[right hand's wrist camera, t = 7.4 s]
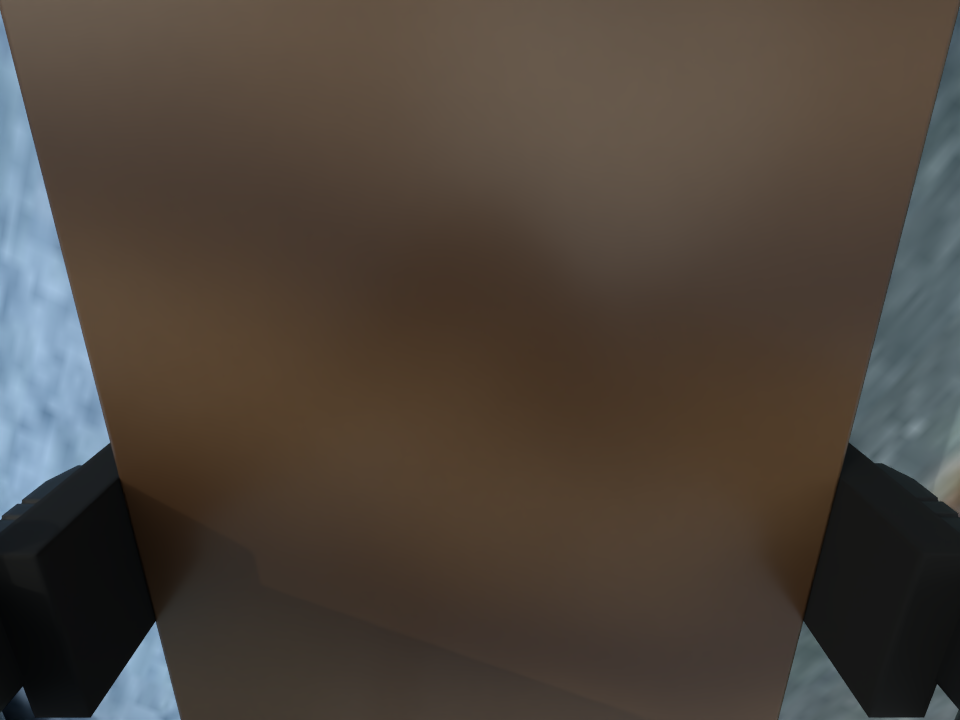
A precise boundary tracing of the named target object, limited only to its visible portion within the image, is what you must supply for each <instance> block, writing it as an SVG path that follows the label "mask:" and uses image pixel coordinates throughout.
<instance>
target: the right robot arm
mask: <svg viewBox="0 0 960 720" xmlns="http://www.w3.org/2000/svg"><path fill="white" fill-rule="evenodd" d="M155 621H156V620H155V616H154V612H153V608H152V604H151V600H150V596H149V592H148V588H147V584H146V581H145V577H144V573H143V569H142V565H141V561H140V557H139V553H138V549H137V545H136V541H135V537H134V533H133V529H132V525H131V522H130V518H129V514H128V510H127V506H126V502H125V498H124V494H123V490H122V486H121V482H120V478H119V474H118V470H117V467H116V463H115V459H114V455H113V451H112V447H111V443H109V444H108V445H107V446H106V447H104V448H103V449H102V450H101V451H99V452H98V453H97V454H96V455H95V456H93V457H92V458H91V459H90V460H88V461H87V462H86V463H85V464H83V465H78V466H76V467H74V468H72V469H70V470H68V471H66V472H64V473H62V474H60V475H58V476H56V477H54V478H52V479H50V480H48V481H46V482H45V483H43V484H42V485H41V486H39V487H38V488H37V489H36V490H34V491H33V492H32V493H31V494H29V495H28V496H27V497H25V498H24V499H23V500H22V504H16V505H15V506H14V507H13V508H11V509H10V510H9V511H8V512H6V513H5V514H4V515H2V519H1V520H0V720H5V718H4V715H3V713H2V710H3V709H4V708H5V707H6V706H7V704H8V703H9V702H10V701H11V700H12V698H13V697H14V696H15V695H16V694H17V692H18V691H19V690H20V689H21V688H22V686H23V688H24V690H25V693H26V696H27V698H28V701H29V703H30V706H31V708H32V711H33V714H34V716H35V718H91V716H92V715H93V713H94V712H95V710H96V709H97V707H98V706H99V704H100V703H101V701H102V700H103V698H104V697H105V695H106V694H107V692H108V691H109V689H110V688H111V686H112V685H113V683H114V682H115V681H116V679H117V678H118V676H119V675H120V673H121V672H122V670H123V669H124V667H125V666H126V664H127V663H128V661H129V660H130V658H131V657H132V655H133V654H134V652H135V651H136V649H137V648H138V646H139V645H140V643H141V642H142V641H143V639H144V638H145V636H146V635H147V633H148V632H149V630H150V629H151V627H152V626H153V624H154V623H155ZM803 621H804V622H805V624H806V625H807V627H808V628H809V630H810V631H811V633H812V634H813V636H814V637H815V639H816V640H817V642H818V643H819V644H820V646H821V647H822V649H823V650H824V652H825V653H826V655H827V656H828V658H829V659H830V661H831V662H832V664H833V665H834V667H835V668H836V670H837V671H838V673H839V674H840V676H841V677H842V679H843V680H844V682H845V683H846V684H847V686H848V687H849V689H850V690H851V692H852V693H853V695H854V696H855V698H856V699H857V701H858V702H859V704H860V705H861V707H862V708H863V710H864V711H865V713H866V714H867V716H868V717H925V714H926V711H927V709H928V706H929V704H930V701H931V698H932V696H933V693H934V691H935V688H936V685H937V684H938V685H939V686H940V688H941V689H942V690H943V691H944V692H945V694H946V695H947V696H948V697H949V698H950V699H951V701H952V702H953V703H954V704H955V705H956V707H957V708H958V709H959V710H958V713H957V715H956V718H955V720H960V518H959V517H958V513H957V512H955V511H954V510H953V509H951V508H950V507H949V506H948V505H946V504H945V503H944V502H938V498H937V497H936V496H935V495H933V494H932V493H931V492H930V491H928V490H927V489H926V488H924V487H923V486H922V485H921V484H919V483H918V482H917V481H915V480H914V479H912V478H910V477H908V476H906V475H904V474H902V473H900V472H898V471H896V470H894V469H892V468H890V467H888V466H886V465H884V464H882V463H873V462H872V461H871V460H870V459H868V458H867V457H866V456H865V455H864V454H862V453H861V452H860V451H859V450H857V449H856V448H855V447H854V446H852V445H851V444H850V443H848V446H847V450H846V454H845V458H844V462H843V466H842V470H841V474H840V478H839V482H838V486H837V490H836V494H835V498H834V502H833V505H832V509H831V513H830V517H829V521H828V525H827V529H826V533H825V537H824V541H823V545H822V549H821V553H820V557H819V561H818V564H817V568H816V572H815V576H814V580H813V584H812V588H811V592H810V596H809V600H808V604H807V608H806V612H805V616H804V620H803Z"/></svg>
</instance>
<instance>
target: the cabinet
mask: <svg viewBox="0 0 960 720" xmlns="http://www.w3.org/2000/svg"><path fill="white" fill-rule="evenodd" d="M959 6H960V0H0V11H1V15H2V18H3V22H4V26H5V30H6V34H7V38H8V42H9V46H10V50H11V54H12V58H13V62H14V66H15V70H16V74H17V77H18V81H19V85H20V89H21V93H22V97H23V101H24V105H25V109H26V113H27V117H28V121H29V125H30V129H31V132H32V136H33V140H34V144H35V148H36V152H37V156H38V160H39V164H40V168H41V172H42V176H43V180H44V184H45V187H46V191H47V195H48V199H49V203H50V207H51V211H52V215H53V219H54V223H55V227H56V231H57V235H58V239H59V243H60V246H61V250H62V254H63V258H64V262H65V266H66V270H67V274H68V278H69V282H70V286H71V290H72V294H73V298H74V301H75V305H76V309H77V313H78V317H79V321H80V325H81V329H82V333H83V337H84V341H85V345H86V349H87V353H88V356H89V360H90V364H91V368H92V372H93V376H94V380H95V384H96V388H97V392H98V396H99V400H100V404H101V408H102V412H103V415H104V419H105V423H106V427H107V431H108V435H109V439H110V443H111V447H112V451H113V455H114V459H115V463H116V467H117V470H118V474H119V478H120V482H121V486H122V490H123V494H124V498H125V502H126V506H127V510H128V514H129V518H130V522H131V525H132V529H133V533H134V537H135V541H136V545H137V549H138V553H139V557H140V561H141V565H142V569H143V573H144V577H145V581H146V584H147V588H148V592H149V596H150V600H151V604H152V608H153V612H154V616H155V620H156V624H157V628H158V632H159V636H160V639H161V643H162V647H163V651H164V655H165V659H166V663H167V667H168V671H169V675H170V679H171V683H172V687H173V691H174V694H175V698H176V702H177V706H178V710H179V714H180V718H181V720H778V718H779V714H780V710H781V706H782V702H783V698H784V694H785V690H786V686H787V682H788V678H789V675H790V671H791V667H792V663H793V659H794V655H795V651H796V647H797V643H798V639H799V635H800V631H801V627H802V623H803V620H804V616H805V612H806V608H807V604H808V600H809V596H810V592H811V588H812V584H813V580H814V576H815V572H816V568H817V564H818V561H819V557H820V553H821V549H822V545H823V541H824V537H825V533H826V529H827V525H828V521H829V517H830V513H831V509H832V505H833V502H834V498H835V494H836V490H837V486H838V482H839V478H840V474H841V470H842V466H843V462H844V458H845V454H846V450H847V446H848V443H849V439H850V435H851V431H852V427H853V423H854V419H855V415H856V411H857V407H858V403H859V399H860V395H861V391H862V387H863V384H864V380H865V376H866V372H867V368H868V364H869V360H870V356H871V352H872V348H873V344H874V340H875V336H876V332H877V329H878V325H879V321H880V317H881V313H882V309H883V305H884V301H885V297H886V293H887V289H888V285H889V281H890V277H891V273H892V270H893V266H894V262H895V258H896V254H897V250H898V246H899V242H900V238H901V234H902V230H903V226H904V222H905V218H906V214H907V211H908V207H909V203H910V199H911V195H912V191H913V187H914V183H915V179H916V175H917V171H918V167H919V163H920V159H921V155H922V152H923V148H924V144H925V140H926V136H927V132H928V128H929V124H930V120H931V116H932V112H933V108H934V104H935V100H936V96H937V93H938V89H939V85H940V81H941V77H942V73H943V69H944V65H945V61H946V57H947V53H948V49H949V45H950V41H951V37H952V34H953V30H954V26H955V22H956V18H957V14H958V10H959Z"/></svg>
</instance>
